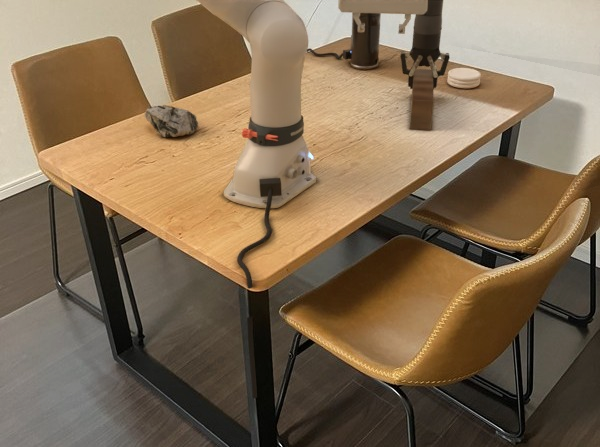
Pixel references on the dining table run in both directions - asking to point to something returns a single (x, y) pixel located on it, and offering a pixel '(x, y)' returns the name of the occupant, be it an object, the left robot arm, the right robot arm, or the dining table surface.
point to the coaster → (464, 78)
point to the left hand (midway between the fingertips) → (381, 32)
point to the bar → (422, 100)
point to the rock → (171, 120)
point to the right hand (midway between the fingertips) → (421, 88)
